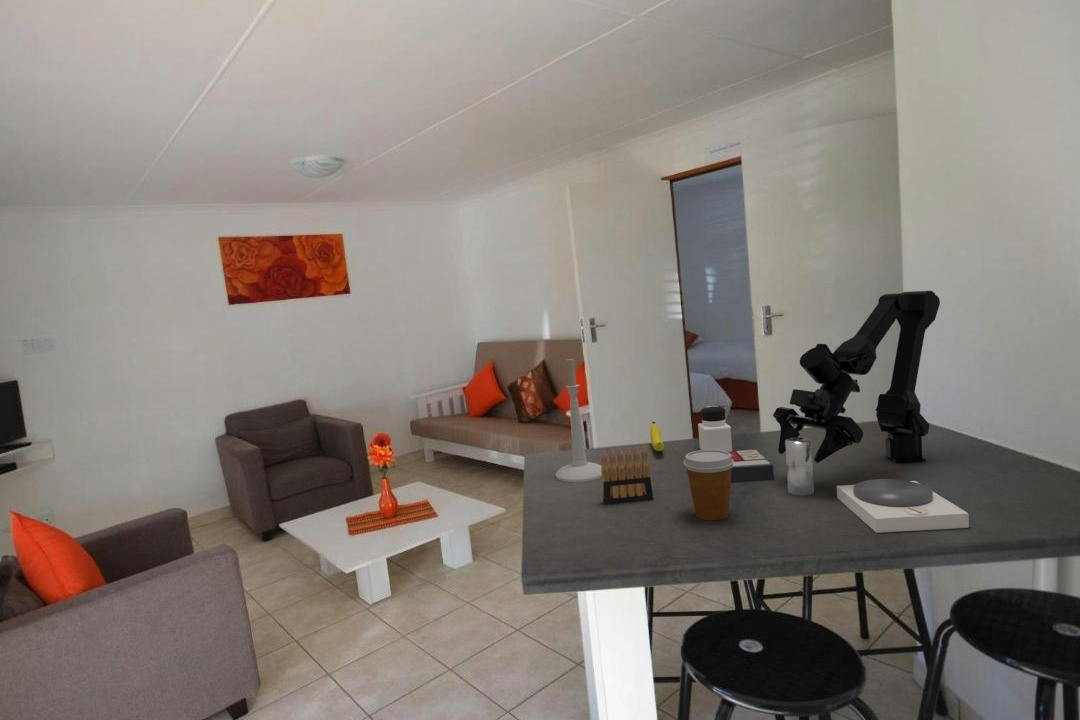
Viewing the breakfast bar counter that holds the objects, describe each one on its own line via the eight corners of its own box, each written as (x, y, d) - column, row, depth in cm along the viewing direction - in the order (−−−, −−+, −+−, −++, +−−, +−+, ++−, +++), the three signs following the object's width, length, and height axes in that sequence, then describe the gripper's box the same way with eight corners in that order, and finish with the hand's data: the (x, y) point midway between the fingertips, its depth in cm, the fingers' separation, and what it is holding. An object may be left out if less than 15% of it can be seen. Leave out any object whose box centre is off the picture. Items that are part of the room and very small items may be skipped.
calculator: (757, 448, 155) (773, 461, 140) (758, 465, 155) (774, 480, 140) (711, 451, 156) (723, 465, 141) (713, 468, 156) (724, 483, 141)
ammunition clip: (604, 504, 135) (599, 450, 133) (603, 502, 137) (598, 448, 135) (653, 499, 135) (649, 445, 134) (651, 497, 137) (647, 443, 135)
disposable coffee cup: (683, 508, 128) (678, 451, 127) (729, 504, 128) (726, 447, 126) (693, 525, 119) (688, 464, 117) (743, 521, 118) (739, 459, 117)
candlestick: (594, 464, 167) (584, 352, 163) (614, 476, 154) (603, 356, 151) (549, 472, 163) (537, 358, 160) (566, 485, 151) (554, 362, 147)
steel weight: (809, 487, 133) (806, 436, 132) (817, 494, 128) (814, 442, 127) (785, 488, 134) (782, 438, 132) (792, 496, 129) (789, 444, 128)
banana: (656, 460, 164) (654, 437, 163) (650, 443, 183) (648, 421, 182) (667, 460, 164) (665, 436, 163) (660, 442, 182) (658, 421, 182)
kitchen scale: (915, 493, 124) (915, 475, 123) (968, 527, 106) (968, 507, 106) (837, 497, 125) (836, 481, 125) (876, 532, 108) (875, 513, 107)
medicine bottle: (733, 453, 164) (730, 408, 163) (705, 455, 164) (702, 410, 163) (725, 446, 171) (722, 403, 170) (699, 448, 171) (696, 405, 170)
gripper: (776, 371, 139) (742, 428, 135) (851, 377, 122) (814, 443, 118) (803, 400, 143) (770, 456, 139) (879, 410, 126) (844, 474, 123)
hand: (797, 457), depth 130 cm, fingers open, 9 cm apart
